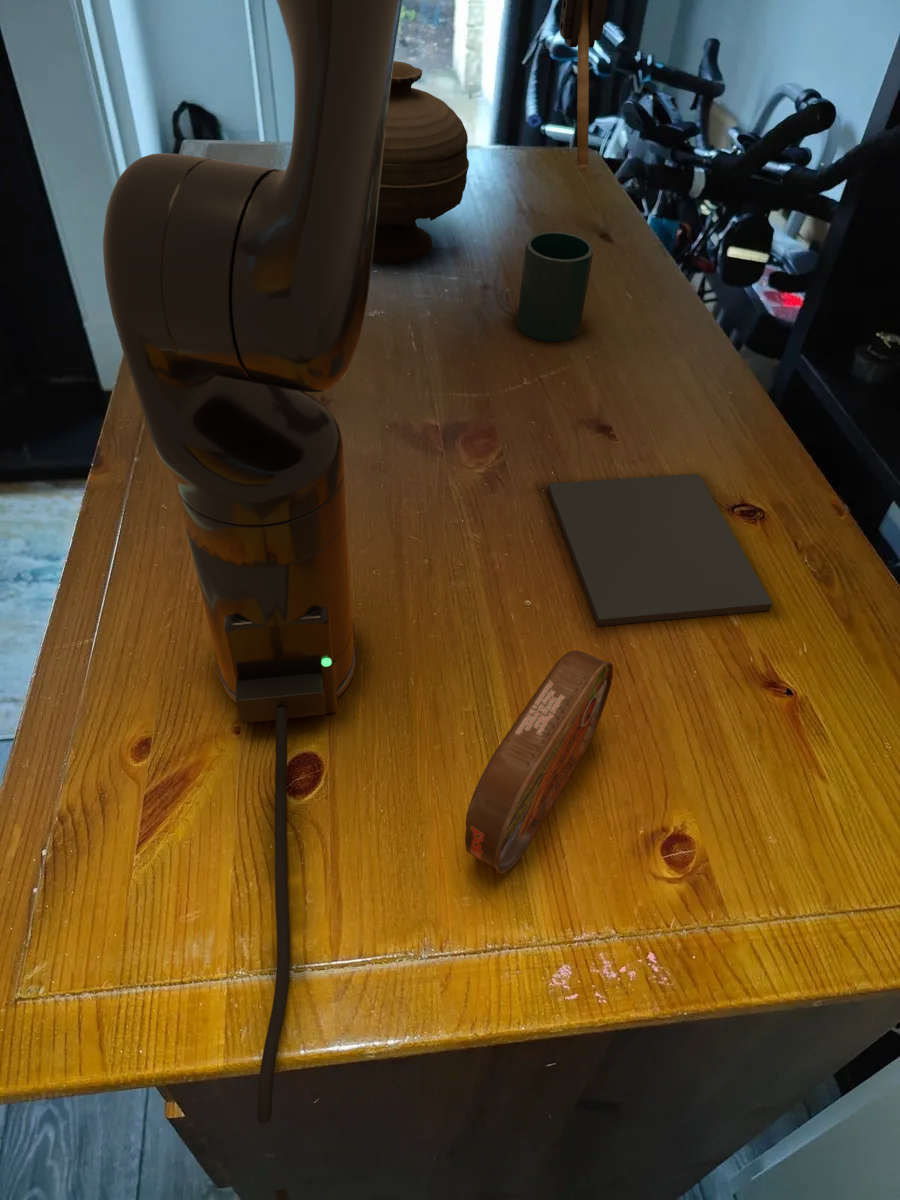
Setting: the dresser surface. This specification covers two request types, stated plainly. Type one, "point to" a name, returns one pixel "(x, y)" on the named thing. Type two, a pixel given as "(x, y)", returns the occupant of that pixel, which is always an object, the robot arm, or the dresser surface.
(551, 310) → the cup
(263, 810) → the dresser surface
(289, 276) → the robot arm
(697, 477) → the mat
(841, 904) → the dresser surface
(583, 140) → the stirring stick
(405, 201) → the pot
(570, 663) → the tin
